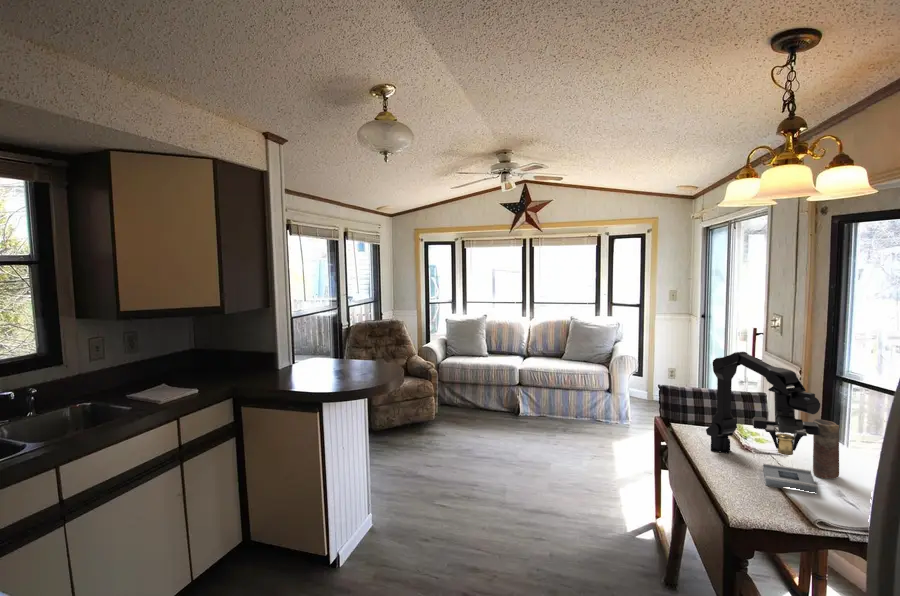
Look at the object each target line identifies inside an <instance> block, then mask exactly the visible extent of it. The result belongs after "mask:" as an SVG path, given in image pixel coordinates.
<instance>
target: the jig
mask: <svg viewBox="0 0 900 596" xmlns="http://www.w3.org/2000/svg"><path fill="white" fill-rule="evenodd" d="M762 472H763V478H764V483H765V486H766V487H771V488H777V489H783V487H790V488H796V489H800V490H804V491H809V492H815V493H817V492H818V491H817V489H818V488H817V487H818V485H817V484H816V482H815V479H814V477H813V474H812V471H811V470H810V469H804V468H798V467H791V466H790V467H789V466H783V465H776V464H772V463H771V464H770V463H765V462H763V463H762Z"/></svg>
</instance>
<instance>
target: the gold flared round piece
mask: <svg viewBox="0 0 900 596" xmlns="http://www.w3.org/2000/svg"><path fill="white" fill-rule="evenodd" d="M776 438H777V444H778V449H777V453H779V454H781V455H784V456H792V455H794V451H793V440H794V435H793V434H790V433H781V432H779V433H776Z"/></svg>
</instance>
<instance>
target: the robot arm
mask: <svg viewBox="0 0 900 596" xmlns="http://www.w3.org/2000/svg"><path fill="white" fill-rule="evenodd" d="M739 366H743V367H745V368H747V369H749V370H751V371H753V372H755V373H757V374H759V375H761V376H762V377H764V378H765V380H766V381H767V383H769V384H770V385H771V387H769V388H768V390H767V391H769V392H771V393H773V394H774V421H771V420H767V418H766V417H762V416H761V417H760V416H753V418H752V425H753V426H752V427H753V429H756V430H764V431H765V432H766V433H769V434H770V436H771V438H772V440H773V444H774V445H775V448H776V449H777V450H778V441H777V438H776V434H777V433H776V428H777V430H778V432H779V433H782V434H790V435H793V436H794V440H793V452H795V451H796V449H797V447H798V444H799V443H800V441H801V439H802V438H803V437H808V435H820V428H819V426H818V425H817V424H816V423H815V422H812V421H804V420H803V419H800V418H799V419H798V418H796V412H795V411H798V412H802V413H806V414H810V415H816V414H818V412H819V411H820V409H821V402H820V400H819V399H818V398H817V397H816V394H815V393H813V392H807V390H806V388H805V387H804V385H803V384H802V382H801V380H799V377H798V376H797V373H796V372H795V371H793V370H791V369H787V368H783V367H777V366H774V365H771V364H770V363H767V362H766V361H763V360H761V359H759V358H757V357H755V356H753V355H751V354H749V353H747V352H745V351H735V352H733V353H731V354H729V355H726V356H722V357H716V358H714V359H713V360H712V371H713V374H714V375H715V377H716V379H717V380H716V381H717V384H716V386H717V388H716V389H717V391H716V412H715V414H714V415H713V417H712V420H711V425H710V426H708V427H707V428H706V429H705V432H706V435H707V436H709V437H710V451H711V452H717V453H724V454H730V451H731V439H730V438H729V437H732V436H733V435H734V432H735V431H736V430H737V429H738V425H737V422H738V419H737V418H735V417H734V416H733V415H732V380H733V379H734V376H735V375H736V374H737V369H738V367H739Z"/></svg>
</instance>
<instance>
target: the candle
mask: <svg viewBox="0 0 900 596" xmlns="http://www.w3.org/2000/svg"><path fill="white" fill-rule="evenodd" d="M813 422H815V423H816V424H817V425H818V426H819V428H820V435H813V438H812V439H813V445H812V473H813V475H814V476H816V477H818V478H821V479H831V480H834V479H837V478H839V477H840V425H839V424H837V423H836V422H834V421H830V420H826V419H820V418H815V419H813Z"/></svg>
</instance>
